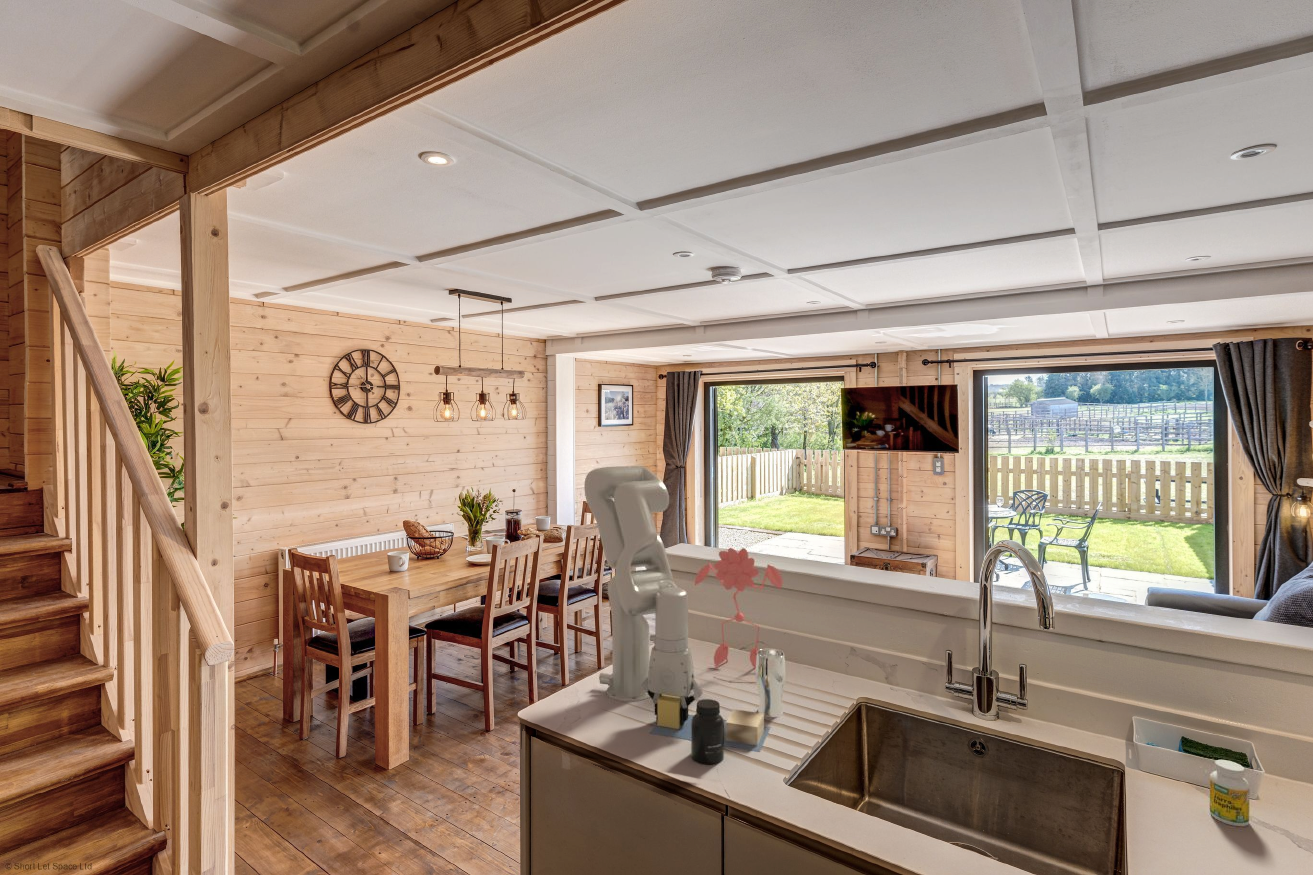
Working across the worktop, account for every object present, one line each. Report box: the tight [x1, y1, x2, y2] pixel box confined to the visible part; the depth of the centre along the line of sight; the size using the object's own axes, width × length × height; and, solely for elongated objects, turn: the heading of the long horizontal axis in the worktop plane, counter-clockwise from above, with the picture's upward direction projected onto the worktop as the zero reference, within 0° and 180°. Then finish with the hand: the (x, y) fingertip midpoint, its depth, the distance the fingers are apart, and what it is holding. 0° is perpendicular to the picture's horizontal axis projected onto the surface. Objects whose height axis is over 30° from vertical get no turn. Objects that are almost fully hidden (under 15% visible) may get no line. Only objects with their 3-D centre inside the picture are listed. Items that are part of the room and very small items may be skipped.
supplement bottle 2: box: [1209, 759, 1251, 827], centre depth 120 cm, size 5×5×10 cm
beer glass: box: [755, 647, 786, 718], centre depth 162 cm, size 7×7×15 cm
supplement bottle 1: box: [690, 698, 725, 766], centre depth 141 cm, size 7×7×12 cm
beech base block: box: [726, 708, 765, 746], centre depth 150 cm, size 7×7×4 cm
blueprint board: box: [648, 713, 771, 753], centre depth 153 cm, size 25×12×1 cm, turn 70°
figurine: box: [694, 547, 783, 684], centre depth 188 cm, size 15×26×35 cm, turn 67°
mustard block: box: [657, 694, 681, 729], centre depth 156 cm, size 5×5×6 cm
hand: (671, 719), depth 156 cm, fingers closed on mustard block, 5 cm apart
